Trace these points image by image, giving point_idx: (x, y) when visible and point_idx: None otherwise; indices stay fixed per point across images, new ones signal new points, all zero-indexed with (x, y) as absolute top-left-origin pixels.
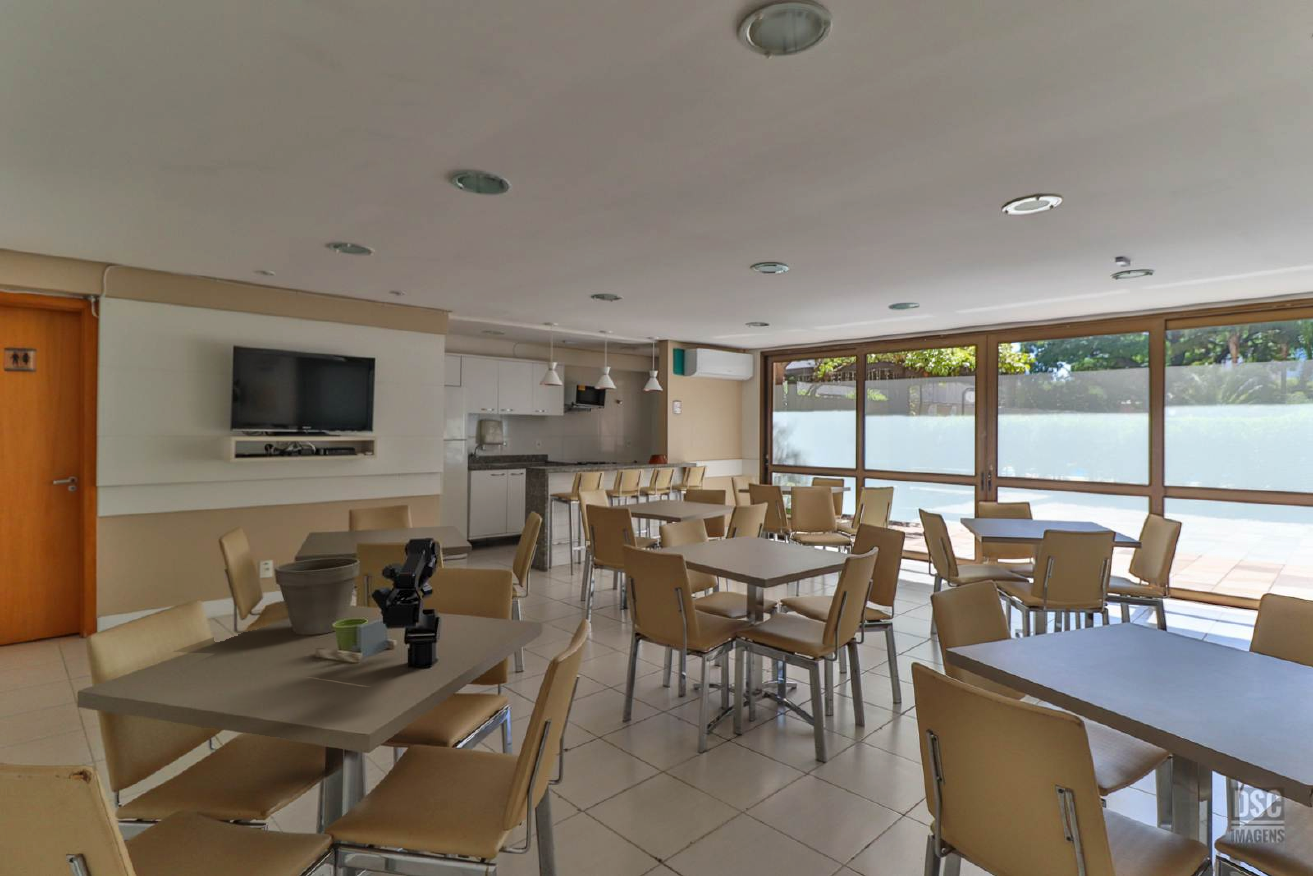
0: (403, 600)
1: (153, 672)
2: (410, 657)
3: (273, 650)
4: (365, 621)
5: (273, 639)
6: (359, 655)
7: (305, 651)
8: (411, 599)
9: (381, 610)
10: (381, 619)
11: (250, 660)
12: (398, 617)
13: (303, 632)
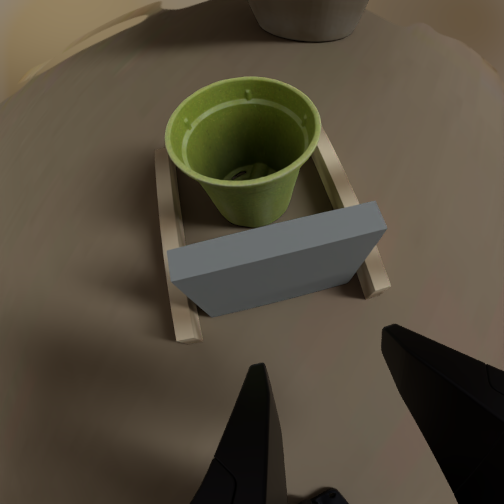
0: (476, 467)
1: (34, 86)
2: None
3: (163, 68)
4: (312, 134)
5: (213, 25)
6: (181, 340)
7: None
8: None
9: (241, 389)
10: (353, 217)
11: (99, 100)
12: None
13: (261, 25)
